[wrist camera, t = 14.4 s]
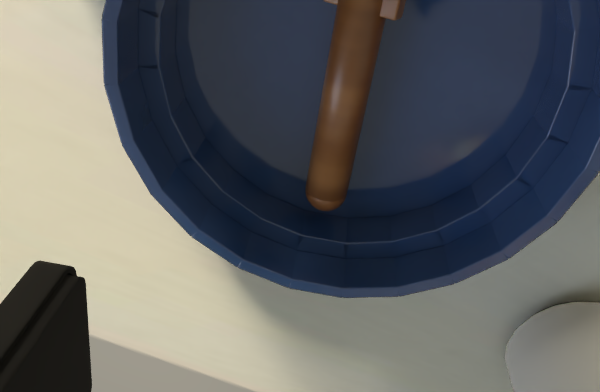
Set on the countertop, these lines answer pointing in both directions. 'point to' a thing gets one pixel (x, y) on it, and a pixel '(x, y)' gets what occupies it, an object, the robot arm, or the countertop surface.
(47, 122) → the countertop surface
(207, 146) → the bowl
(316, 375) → the countertop surface
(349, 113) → the stirring stick
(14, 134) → the countertop surface
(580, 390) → the can
